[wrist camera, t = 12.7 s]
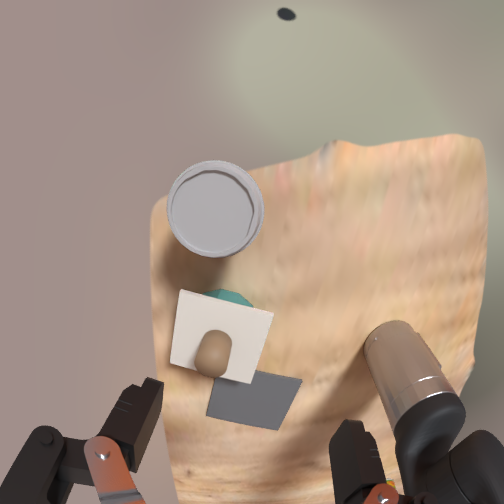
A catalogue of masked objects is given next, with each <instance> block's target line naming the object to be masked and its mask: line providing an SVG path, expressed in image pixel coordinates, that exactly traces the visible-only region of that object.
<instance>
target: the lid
mask: <svg viewBox="0 0 504 504" xmlns="http://www.w3.org/2000/svg"><path fill="white" fill-rule="evenodd" d="M273 316H274V313H272V312H268V311H264V310H260V309H256V308H252V307H248V306H244V305H240V304H236V303H232V302H228V301H224V300H220V299H217V298H213V297H209V296H205V295H202V294H198V293H194V292H191V291H187V290H184V289H181V290H180V293H179V300H178V306H177V313H176V320H175V327H174V334H173V341H172V349H171V357H170V363H172V364H175V365H178V366H182V367H185V368H189V369H192V370H196V371H198V372H199V373H201V374H202V375H204V376H207V377H211V378H216V377H223V378H227V379H231V380H235V381H239V382H244V383H248V384H251V381H252V378H253V375H254V373H255V370H256V367H257V364H258V361H259V358H260V355H261V352H262V349H263V346H264V343H265V340H266V337H267V334H268V331H269V328H270V325H271V322H272V319H273Z"/></svg>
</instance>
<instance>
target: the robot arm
mask: <svg viewBox="0 0 504 504" xmlns="http://www.w3.org/2000/svg"><path fill="white" fill-rule="evenodd" d="M364 356H365V359H366V361H367V364H368V366H369V369H370V372H371V374H372V377H373V380H374V382H375V385H376V387H377V390H378V393H379V395H380V398H381V401H382V403H383V406H384V409H385V412H386V414H387V417H388V420H389V423H390V425H391V428H392V431H393V434H394V437H395V440H396V445H395V454H396V458H397V462H398V466H399V470H400V475H401V479H402V484H403V489H404V494H405V495H401V494H398V492H397V490H396V489H395V488H394V487H393V486H391V485H389V484H387V481H386V478H385V474H384V470H383V466H382V462H381V459H380V458H379V456H380V455H379V451H377V450H378V448H377V444H376V441H375V439H374V438H373V436H372V435H371V434H370V432H365V429H364V425H363V422H362V421H360V420H347V419H346V420H344V421H343V422H342V424H341V425H340V427H339V428H338V430H337V431H336V433H335V434H334V435H333V437H332V438H331V440H330V443H329V456H330V463H331V471H332V479H333V487H334V495H335V504H504V447H503V445H502V444H501V443H500V441H499V440H498V439H497V438H496V437H495V436H494V435H493V434H491V433H490V432H488V431H486V430H477V431H475V432H473V433H472V434H470V435H469V436H468V437H466V438H465V439H464V440H463V441H461V442H460V443H459V444H458V445H457V446H455V447H454V448H453V449H452V450H451V451H449V449H450V447H451V445H452V443H453V441H454V440H455V438H456V437H457V435H458V433H459V432H460V430H461V428H462V426H463V424H464V422H465V417H466V412H465V408H464V406H463V404H462V402H461V400H460V399H459V397H458V396H457V394H456V393H455V391H454V389H453V388H452V386H451V385H450V383H449V382H448V380H447V379H446V377H445V375H444V374H443V372H442V371H441V364H440V363H439V361H438V360H437V358H436V357H435V356H434V354H433V353H432V351H431V350H430V348H429V347H428V345H427V344H426V343H425V341H424V340H423V338H422V337H421V336H420V334H419V333H416V332H415V331H414V330H413V328H412V327H411V326H410V325H409V324H408V323H406V322H403V321H391V322H387V323H385V324H382V325H381V326H379V327H378V328H376V329H375V330H374V331H373V332H372V333H371V334H370V335H369V337H368V338H367V340H366V342H365V345H364ZM163 389H164V382H161V381H158V380H155V379H152V378H149V377H147V378H146V379H145V381H144V383H143V385H142V387H139V386H136V385H134V384H132V385H131V386H129V387H128V388H126V389H125V390H123V392H122V394H121V396H120V397H119V399H118V401H117V402H116V404H115V406H114V408H113V409H112V411H111V413H110V415H109V416H108V418H107V420H106V422H105V424H104V425H103V427H102V429H101V431H100V432H99V433H98V434H97V435H96V436H95V437H92V438H90V439H88V440H78V439H72V438H67V437H63V436H62V435H61V433H60V432H59V431H58V430H57V429H55V428H54V427H51V426H39V427H37V428H36V429H34V430H33V431H32V433H31V434H30V436H29V438H28V439H27V441H26V443H25V445H24V446H23V448H22V450H21V451H20V453H19V454H18V456H17V458H16V460H15V461H14V463H13V465H12V466H11V468H10V470H9V472H8V474H7V475H6V477H5V479H4V481H3V483H2V485H1V487H0V504H66V501H67V499H68V496H69V494H70V492H71V489H72V487H73V484H74V483H77V484H83V485H89V486H95V487H96V490H97V493H98V496H99V499H100V502H101V504H146V503H145V501H144V499H143V498H142V495H141V494H140V493H139V492H138V490H137V488H136V486H135V484H134V482H133V480H132V478H131V475H130V473H129V471H132V472H134V473H137V470H138V467H139V465H140V463H141V460H142V457H143V455H144V453H145V450H146V448H147V445H148V443H149V440H150V437H151V435H152V433H153V430H154V428H155V425H156V423H157V420H158V418H159V415H160V412H161V408H162V400H163ZM448 451H449V452H448Z"/></svg>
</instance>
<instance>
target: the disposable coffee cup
mask: <svg viewBox="0 0 504 504" xmlns="http://www.w3.org/2000/svg"><path fill="white" fill-rule="evenodd" d="M167 216H168V221H169V225H170V227H171V229H172V232H173V233H174V235H175V237H176V238H177V239H178V240H179V242H180V243H181V244H182V245H183V246H185V247H186V248H187V249H189V250H190V251H192V252H194V253H196V254H199V255H201V256H205V257H211V258H223V257H228V256H232V255H234V254H236V253H238V252H240V251H242V250H244V249H245V248H246V247H248V246H249V245H250V244H251V243H252V242H253V240H254V239H255V238H256V236H257V235H258V233H259V231H260V229H261V226H262V223H263V218H264V202H263V198H262V194H261V191H260V189H259V187H258V185H257V184H256V182H255V181H254V179H253V178H252V177H251V176H250V175H249V174H248V173H247V172H246V171H244V170H243V169H242V168H240V167H238V166H236V165H234V164H232V163H229V162H225V161H218V160H211V161H204V162H201V163H197V164H195V165H193V166H191V167H189V168H188V169H186V170H185V171H184V172H183V173H182V174H180V176H178V178H177V179H176V181H175V182H174V183H173V185H172V187H171V190H170V192H169V195H168V200H167Z"/></svg>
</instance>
